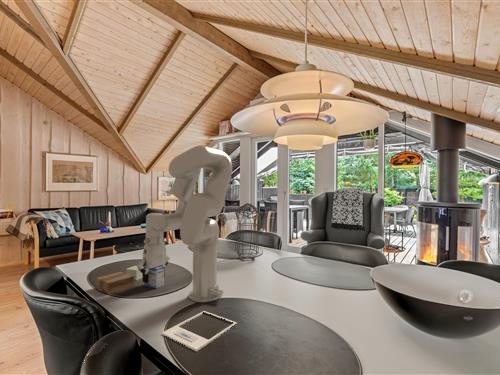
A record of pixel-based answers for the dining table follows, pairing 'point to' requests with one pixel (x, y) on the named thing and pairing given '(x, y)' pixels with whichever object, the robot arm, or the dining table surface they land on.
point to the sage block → (134, 272)
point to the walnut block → (114, 282)
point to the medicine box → (156, 277)
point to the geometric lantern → (247, 225)
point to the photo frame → (192, 334)
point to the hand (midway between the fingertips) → (153, 279)
